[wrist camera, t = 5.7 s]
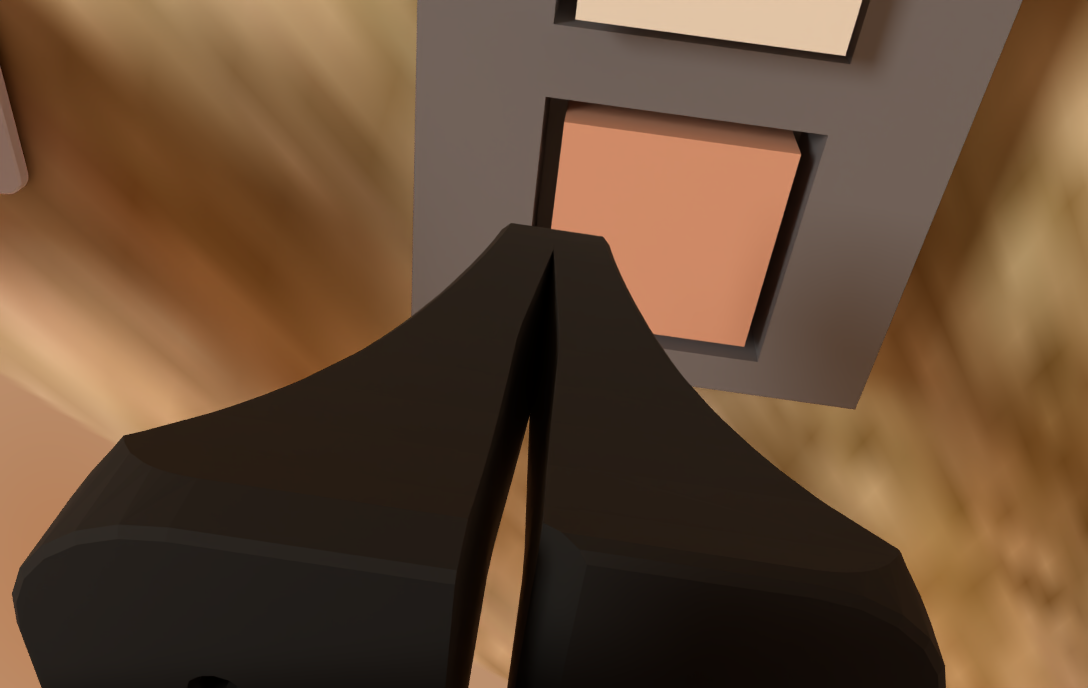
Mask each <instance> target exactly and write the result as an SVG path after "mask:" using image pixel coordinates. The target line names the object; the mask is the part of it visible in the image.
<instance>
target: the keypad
mask: <svg viewBox="0 0 1088 688" xmlns="http://www.w3.org/2000/svg"><path fill="white" fill-rule="evenodd" d="M577 1H578V0H418V2H417V54H416V106H415V158H414V210H413V262H412V314H411V316H413V315H414V314H415V313H416V312H418V311H419V310H420V309H421V308H423V307H424V306H425V305H426V304H428V303H429V302H430V301H431V300H433V299H434V298H435V297H436V296H438V295H439V294H440V293H441V292H442V291H443V290H445V289H446V288H447V287H448V286H449V285H450V284H451V283H452V282H453V281H454V280H455V279H456V278H457V277H458V276H459V275H461V274H462V273H463V272H464V271H465V270H466V269H467V268H468V267H469V266H470V265H471V264H472V263H473V262H474V261H475V260H476V259H477V258H478V257H479V256H480V255H481V254H482V252H483V251H484V250H485V249H486V248H487V247H488V246H489V245H490V244H491V242H492V241H493V240H494V239H495V238H496V236H497V235H498V234H499V233H500V231H501V230H502V229H503V228H505V227H506V226H507V225H509V224H510V223H515V224H522V225H529V226H535V227H542V228H549V229H551V226H552V217H553V209H554V201H555V193H556V185H557V177H558V169H559V161H560V153H561V145H562V137H563V128H564V121H565V116H566V111H567V106H568V102H569V100H574V101H581V102H588V103H596V104H603V105H610V106H618V107H625V108H632V109H639V110H647V111H654V112H661V113H669V114H676V115H683V116H691V117H698V118H705V119H713V120H720V121H727V122H735V123H742V124H749V125H757V126H764V127H771V128H778V129H786V130H792V131H793V134H794V136H795V139H796V142H797V145H798V147H799V150H800V153H801V156H800V160H799V163H798V167H797V170H796V173H795V177H794V180H793V183H792V187H791V190H790V194H789V197H788V200H787V204H786V207H785V210H784V214H783V217H782V221H781V224H780V227H779V231H778V234H777V238H776V241H775V244H774V248H773V251H772V254H771V258H770V261H769V265H768V268H767V271H766V275H765V278H764V281H763V285H762V288H761V292H760V295H759V298H758V302H757V305H756V309H755V312H754V315H753V319H752V322H751V325H750V329H749V332H748V336H747V339H746V342H745V346H744V347H742V346H735V345H728V344H721V343H714V342H706V341H699V340H692V339H685V338H678V337H671V336H664V335H657V334H654V336H655V337H656V339H657V341H658V342H659V343H660V345H661V346H662V348H663V349H664V351H665V352H666V354H667V355H668V357H669V358H670V359H671V361H672V362H673V364H674V365H675V366H676V368H677V369H678V370H679V372H680V373H681V374H682V376H683V377H684V378H685V379H686V380H687V382H688V383H689V384H690V385H691V386H693V387H700V388H707V389H714V390H721V391H728V392H735V393H742V394H749V395H756V396H764V397H771V398H778V399H785V400H792V401H799V402H806V403H813V404H820V405H827V406H834V407H841V408H848V409H856V406H857V404H858V401H859V399H860V396H861V394H862V391H863V389H864V387H865V384H866V382H867V379H868V377H869V374H870V372H871V369H872V367H873V365H874V362H875V360H876V357H877V355H878V352H879V350H880V347H881V345H882V343H883V340H884V338H885V335H886V333H887V330H888V328H889V325H890V323H891V321H892V318H893V316H894V313H895V311H896V308H897V306H898V303H899V301H900V299H901V296H902V294H903V291H904V289H905V286H906V284H907V281H908V279H909V277H910V274H911V272H912V269H913V267H914V264H915V262H916V259H917V257H918V255H919V252H920V250H921V247H922V245H923V242H924V240H925V237H926V235H927V233H928V230H929V228H930V225H931V223H932V220H933V218H934V215H935V213H936V211H937V208H938V206H939V203H940V201H941V198H942V196H943V193H944V191H945V189H946V186H947V184H948V181H949V179H950V176H951V174H952V171H953V169H954V167H955V164H956V162H957V159H958V157H959V154H960V152H961V149H962V147H963V145H964V142H965V140H966V137H967V135H968V132H969V130H970V127H971V125H972V123H973V120H974V118H975V115H976V113H977V110H978V108H979V105H980V103H981V101H982V98H983V96H984V93H985V91H986V88H987V86H988V83H989V81H990V79H991V76H992V74H993V71H994V69H995V66H996V64H997V61H998V59H999V57H1000V54H1001V52H1002V49H1003V47H1004V44H1005V42H1006V40H1007V37H1008V35H1009V32H1010V30H1011V27H1012V25H1013V22H1014V20H1015V18H1016V15H1017V13H1018V10H1019V8H1020V5H1021V3H1022V0H862V3H861V6H860V9H859V13H858V16H857V19H856V22H855V26H854V29H853V32H852V35H851V39H850V42H849V45H848V49H847V52H846V55H845V56H842V55H835V54H827V53H820V52H812V51H805V50H798V49H790V48H783V47H775V46H768V45H761V44H753V43H746V42H738V41H731V40H724V39H716V38H709V37H701V36H694V35H687V34H679V33H672V32H664V31H657V30H650V29H642V28H635V27H627V26H620V25H613V24H605V23H598V22H590V21H583V20H576V19H575V17H576V9H577Z"/></svg>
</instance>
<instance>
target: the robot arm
mask: <svg viewBox="0 0 1088 688" xmlns="http://www.w3.org/2000/svg"><path fill="white" fill-rule="evenodd" d="M27 182H28V171H27V167H26V163H25V159H24V155H23V151H22V148H21V144H20V140H19V136H18V132H17V128H16V125H15V121H14V117H13V113H12V109H11V105H10V102H9V98H8V94H7V90H6V86H5V82H4V79H3V75H2V71H1V67H0V194H14V193H16V192H17V191H19V190H20V189H22V188H23V187H24V186H26V184H27ZM529 416H530V422H529V447H528V474H527V502H526V529H525V553H524V565H523V577H522V586H521V593H520V600H519V607H518V614H517V622H516V629H515V636H514V643H513V651H512V658H511V665H510V672H509V679H508V687H507V688H946V681H945V665H944V662H943V659H942V656H941V652H940V649H939V646H938V643H937V640H936V637H935V634H934V631H933V628H932V625H931V622H930V619H929V617H928V614H927V612H926V609H925V606H924V604H923V601H922V599H921V596H920V594H919V592H918V590H917V588H916V585H915V583H914V581H913V579H912V577H911V575H910V573H909V571H908V569H907V567H906V564H905V562H904V559H903V557H902V554H901V552H900V550H898V549H897V548H895V547H894V546H892V545H890V544H889V543H887V542H886V541H884V540H882V539H881V538H879V537H878V536H876V535H874V534H873V533H871V532H870V531H868V530H866V529H865V528H863V527H862V526H860V525H859V524H857V523H855V522H854V521H852V520H851V519H849V518H847V517H846V516H844V515H843V514H841V513H839V512H838V511H836V510H835V509H833V508H831V507H830V506H828V505H827V504H825V503H824V502H822V501H821V500H819V499H818V498H816V497H815V496H814V495H812V494H811V493H810V492H808V491H807V490H806V489H804V488H803V487H802V486H800V485H799V484H798V483H796V482H795V481H794V480H792V479H791V478H790V477H788V476H787V475H786V474H784V473H783V472H782V471H780V470H779V469H778V468H777V467H775V466H774V465H773V464H772V463H770V462H769V461H768V460H767V459H766V458H764V457H763V456H762V455H761V454H760V453H758V452H757V451H756V450H755V449H754V448H753V447H751V446H750V445H749V444H748V443H747V442H746V441H745V440H744V439H743V438H742V437H741V436H740V435H738V434H737V433H736V432H735V431H734V430H733V429H732V428H731V427H730V426H729V425H728V424H727V423H725V422H724V421H723V420H722V419H721V418H720V417H719V416H718V415H717V414H716V413H715V412H714V411H713V410H712V409H711V408H710V406H709V405H708V404H707V403H706V402H705V401H704V400H703V399H702V398H701V397H700V395H699V394H698V393H697V392H696V391H695V390H694V388H693V387H692V386H691V385H690V384H689V383H688V382H687V380H686V379H685V378H684V377H683V376H682V374H681V373H680V372H679V370H678V369H677V368H676V366H675V365H674V364H673V362H672V361H671V359H670V358H669V357H668V355H667V354H666V352H665V351H664V349H663V348H662V346H661V345H660V343H659V342H658V341H657V339H656V337H655V336H654V334H653V333H652V331H651V329H650V328H649V326H648V324H647V323H646V321H645V319H644V317H643V316H642V314H641V312H640V310H639V309H638V307H637V305H636V303H635V302H634V300H633V298H632V296H631V294H630V292H629V290H628V288H627V286H626V284H625V282H624V280H623V278H622V276H621V274H620V271H619V269H618V267H617V265H616V262H615V260H614V257H613V254H612V251H611V248H610V245H609V244H608V243H607V241H606V240H605V238H604V237H603V236H596V235H589V234H583V233H576V232H569V231H562V230H556V229H549V228H542V227H535V226H529V225H522V224H515V223H510V224H509V225H507V226H506V227H505V228H503V229H502V230H501V231H500V233H499V234H498V235H497V236H496V238H495V239H494V240H493V241H492V242H491V244H490V245H489V246H488V247H487V248H486V249H485V250H484V251H483V252H482V254H481V255H480V256H479V257H478V258H477V259H476V260H475V261H474V262H473V263H472V264H471V265H470V266H469V267H468V268H467V269H466V270H465V271H464V272H463V273H462V274H461V275H459V276H458V277H457V278H456V279H455V280H454V281H453V282H452V283H451V284H450V285H449V286H448V287H447V288H446V289H445V290H443V291H442V292H441V293H440V294H439V295H438V296H436V297H435V298H434V299H433V300H431V301H430V302H429V303H428V304H426V305H425V306H424V307H423V308H421V309H420V310H419V311H418V312H416V313H415V314H414V315H413V316H411V317H410V318H409V319H408V320H406V321H405V322H404V323H402V324H401V325H399V326H398V327H396V328H395V329H394V330H392V331H391V332H389V333H388V334H386V335H385V336H383V337H382V338H380V339H379V340H377V341H376V342H374V343H372V344H371V345H369V346H368V347H366V348H364V349H363V350H361V351H359V352H357V353H356V354H354V355H351V356H349V357H347V358H345V359H343V360H341V361H339V362H337V363H335V364H333V365H331V366H329V367H327V368H325V369H323V370H321V371H319V372H317V373H315V374H313V375H311V376H309V377H307V378H305V379H302V380H300V381H298V382H296V383H293V384H291V385H288V386H286V387H283V388H281V389H278V390H276V391H273V392H271V393H268V394H265V395H263V396H260V397H257V398H254V399H251V400H249V401H246V402H243V403H240V404H237V405H234V406H231V407H228V408H225V409H222V410H219V411H216V412H213V413H209V414H205V415H202V416H198V417H194V418H191V419H187V420H183V421H179V422H176V423H172V424H168V425H165V426H161V427H157V428H153V429H150V430H146V431H142V432H138V433H133V434H129V435H124V436H123V437H122V438H121V439H120V441H119V442H118V443H117V444H116V445H115V446H114V448H113V449H112V450H111V451H110V452H109V453H108V454H107V455H106V456H105V457H104V458H103V460H102V461H101V462H100V463H99V464H98V465H97V466H96V467H95V468H94V469H93V470H92V472H91V473H90V474H89V475H88V476H87V478H86V479H85V480H84V482H83V483H82V484H81V486H80V487H79V488H78V489H77V491H76V492H75V493H74V494H73V496H72V497H71V498H70V500H69V501H68V502H67V504H66V505H65V507H64V508H63V509H62V511H61V512H60V513H59V515H58V516H57V518H56V519H55V520H54V522H53V523H52V524H51V526H50V527H49V529H48V530H47V531H46V533H45V534H44V535H43V537H42V538H41V539H40V541H39V542H38V543H37V545H36V546H35V548H34V549H33V550H32V552H31V553H30V554H29V556H28V557H27V559H26V560H25V561H24V563H23V564H22V565H21V567H20V569H19V572H18V575H17V579H16V582H15V586H14V589H13V592H12V596H13V602H14V608H15V614H16V620H17V624H18V626H19V629H20V632H21V634H22V637H23V640H24V642H25V645H26V648H27V650H28V653H29V656H30V658H31V661H32V664H33V666H34V669H35V671H36V674H37V677H38V679H39V682H40V685H41V687H42V688H468V686H469V680H470V674H471V668H472V662H473V656H474V650H475V644H476V638H477V632H478V626H479V620H480V615H481V609H482V603H483V597H484V591H485V585H486V579H487V574H488V569H489V565H490V560H491V556H492V552H493V547H494V543H495V540H496V536H497V532H498V529H499V525H500V521H501V518H502V514H503V511H504V507H505V503H506V500H507V496H508V492H509V489H510V485H511V482H512V478H513V474H514V471H515V467H516V463H517V460H518V456H519V453H520V449H521V445H522V442H523V438H524V434H525V431H526V427H527V423H528V419H529Z"/></svg>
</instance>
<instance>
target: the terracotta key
mask: <svg viewBox="0 0 1088 688" xmlns="http://www.w3.org/2000/svg"><path fill="white" fill-rule="evenodd" d="M800 156H801V153H800V150H799V147H798V145H797V142H796V139H795V136H794V134H793V131H792V130H786V129H778V128H771V127H764V126H757V125H749V124H742V123H735V122H727V121H720V120H713V119H705V118H698V117H691V116H683V115H676V114H669V113H661V112H654V111H647V110H639V109H632V108H625V107H618V106H610V105H603V104H596V103H588V102H581V101H574V100H569V102H568V106H567V111H566V116H565V121H564V128H563V137H562V145H561V153H560V161H559V169H558V177H557V185H556V193H555V201H554V209H553V217H552V226H551V229H556V230H562V231H569V232H576V233H583V234H589V235H596V236H603V237H604V238H605V240H606V241H607V243H608V244H609V245H610V248H611V251H612V254H613V257H614V260H615V262H616V265H617V267H618V269H619V271H620V274H621V276H622V278H623V280H624V282H625V284H626V286H627V288H628V290H629V292H630V294H631V296H632V298H633V300H634V302H635V303H636V305H637V307H638V309H639V310H640V312H641V314H642V316H643V317H644V319H645V321H646V323H647V324H648V326H649V328H650V329H651V331H652V333H653V334H657V335H664V336H671V337H678V338H685V339H692V340H699V341H706V342H714V343H721V344H728V345H735V346H742V347H744V346H745V342H746V339H747V336H748V332H749V329H750V325H751V322H752V319H753V315H754V312H755V309H756V305H757V302H758V298H759V295H760V292H761V288H762V285H763V281H764V278H765V275H766V271H767V268H768V265H769V261H770V258H771V254H772V251H773V248H774V244H775V241H776V238H777V234H778V231H779V227H780V224H781V221H782V217H783V214H784V210H785V207H786V204H787V200H788V197H789V194H790V190H791V187H792V183H793V180H794V177H795V173H796V170H797V167H798V163H799V160H800Z"/></svg>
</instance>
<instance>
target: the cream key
mask: <svg viewBox="0 0 1088 688" xmlns="http://www.w3.org/2000/svg"><path fill="white" fill-rule="evenodd" d="M861 3H862V0H578V1H577V9H576V17H575V19H576V20H583V21H590V22H598V23H605V24H613V25H620V26H627V27H635V28H642V29H650V30H657V31H664V32H672V33H679V34H687V35H694V36H701V37H709V38H716V39H724V40H731V41H738V42H746V43H753V44H761V45H768V46H775V47H783V48H790V49H798V50H805V51H812V52H820V53H827V54H835V55H842V56H845V55H846V52H847V49H848V45H849V42H850V39H851V35H852V32H853V29H854V26H855V22H856V19H857V16H858V13H859V9H860V6H861Z"/></svg>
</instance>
